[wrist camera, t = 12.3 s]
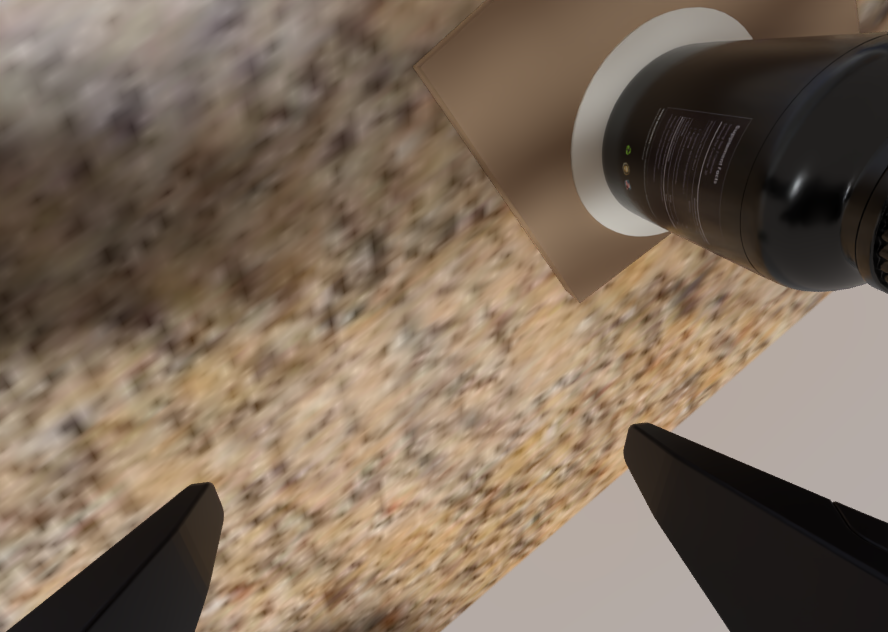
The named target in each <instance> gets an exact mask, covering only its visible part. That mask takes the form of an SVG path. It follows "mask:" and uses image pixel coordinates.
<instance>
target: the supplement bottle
mask: <svg viewBox="0 0 888 632" xmlns="http://www.w3.org/2000/svg"><path fill="white" fill-rule="evenodd" d="M602 166H603V172H604V176H605V180H606V183H607V185H608V187H609V189H610V191H611V193H612V194H613V196H614V197H615V199H616V200H617V201H618V202H619V203H620V204H621V205H622V206H623V207H624V208H626V209H627V210H629V211H630V212H632V213H634V214H636V215H638V216H640V217H641V218H643V219H645V220H647V221H649V222H651V223H653V224H655V225H657V226H659V227H661V228H663V229H666V230H668V231H670V232H672V233H674V234H676V235H678V236H680V237H682V238H684V239H686V240H688V241H690V242H692V243H694V244H696V245H698V246H701V247H703V248H705V249H707V250H709V251H711V252H713V253H715V254H717V255H719V256H721V257H723V258H725V259H727V260H729V261H731V262H733V263H735V264H738V265H740V266H742V267H744V268H746V269H748V270H750V271H752V272H754V273H756V274H758V275H760V276H762V277H764V278H766V279H769V280H771V281H774V282H776V283H778V284H780V285H783V286H785V287H788V288H791V289H796V290H801V291H812V292H825V291H837V290H842V289H849V288H853V287H856V286H860V285H863V284H866V283H868V284H869V285H871V286H872V287H874V288H876V289H879V290H881V291H883V292H885V293H887V294H888V32H874V33H857V34H839V35H822V36H804V37H787V38H770V39H752V40H735V41H717V42H705V43H695V44H689V45H684V46H681V47H677V48H675V49H672V50H670V51H668V52H666V53H664V54H662V55H660V56H658V57H657V58H655V59H654V60H652V61H651V62H650V63H648V64H647V65H646V66H645V67H643V68H642V69H641V70H640V71H639V72H638V73H637V74H636V75H635V76H634V77H633V79H632V80H631V81H630V82H629V83H628V85H627V86H626V87H625V89H624V90H623V91H622V93H621V94H620V96H619V98H618V99H617V101H616V103H615V105H614V107H613V109H612V111H611V113H610V116H609V119H608V121H607V125H606V128H605V132H604V137H603V143H602Z"/></svg>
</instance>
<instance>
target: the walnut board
mask: <svg viewBox="0 0 888 632" xmlns="http://www.w3.org/2000/svg"><path fill="white" fill-rule="evenodd" d="M857 33H860V28H859V20H858V11H857V3H856V0H486V1H485V2H484V3H483V4H481V5H480V6H479V7H478V8H477V9H476V10H475V11H474V12H473V13H471V14H470V15H469V16H468V17H467V18H466V19H465V20H464V21H463V22H461V23H460V24H459V25H458V26H457V27H456V28H455V29H454V30H453V31H452V32H450V33H449V34H448V35H447V36H446V37H445V38H444V39H443V40H442V41H440V42H439V43H438V44H437V45H436V46H435V47H434V48H433V49H432V50H430V51H429V52H428V53H427V54H426V55H425V56H424V57H423V58H422V59H421V60H419V61H418V62H417V63H416V64H415V65H414V66H413V68H414V69H415V71H416V72H417V74H418V75H419V77H420V78H421V80H422V81H423V83H424V84H425V85H426V87H427V88H428V90H429V91H430V93H431V94H432V96H433V97H434V99H435V100H436V101H437V103H438V104H439V106H440V107H441V109H442V110H443V112H444V113H445V115H446V116H447V118H448V119H449V120H450V122H451V123H452V125H453V126H454V128H455V129H456V131H457V132H458V134H459V135H460V136H461V138H462V139H463V141H464V142H465V144H466V145H467V147H468V148H469V150H470V151H471V153H472V154H473V155H474V157H475V158H476V160H477V161H478V163H479V164H480V166H481V167H482V169H483V170H484V171H485V173H486V174H487V176H488V177H489V179H490V180H491V182H492V183H493V185H494V186H495V188H496V189H497V190H498V192H499V193H500V195H501V196H502V198H503V199H504V201H505V202H506V204H507V205H508V206H509V208H510V209H511V211H512V212H513V214H514V215H515V217H516V218H517V220H518V221H519V222H520V224H521V225H522V227H523V228H524V230H525V231H526V233H527V234H528V236H529V237H530V239H531V240H532V241H533V243H534V244H535V246H536V247H537V249H538V250H539V252H540V253H541V255H542V256H543V257H544V259H545V260H546V262H547V263H548V265H549V266H550V268H551V269H552V271H553V272H554V274H555V275H556V276H557V278H558V279H559V281H560V282H561V284H562V285H563V287H564V288H565V290H566V291H567V292H568V293H570V294H571V295H572V296H573V297H574V298H575V299H576V300H577V301H578V302H579V303H581V302H582V301H583V300H585V299H586V298H587V297H589V296H590V295H591V294H592V293H594V292H595V291H596V290H598V289H599V288H600V287H602V286H603V285H604V284H606V283H607V282H608V281H609V280H611V279H612V278H613V277H615V276H616V275H617V274H619V273H620V272H621V271H622V270H624V269H625V268H626V267H628V266H629V265H630V264H632V263H633V262H634V261H635V260H637V259H638V258H639V257H641V256H642V255H643V254H645V253H646V252H647V251H648V250H650V249H651V248H652V247H654V246H655V245H656V244H658V243H659V242H660V241H661V240H663V239H664V238H665V237H667V236H668V235H669V234H671V233H672V232H670V231H668V230H666V229H663V228H661V227H659V226H657V225H655V224H653V223H651V222H649V221H647V220H645V219H643V218H641V217H640V216H638V215H636V214H634V213H632V212H630V211H629V210H627V209H626V208H624V207H623V206H622V205H621V204H620V203H619V202H618V201H617V200H616V199H615V197H614V196H613V194H612V193H611V191H610V189H609V187H608V185H607V183H606V180H605V176H604V172H603V166H602V143H603V137H604V132H605V128H606V125H607V121H608V119H609V116H610V113H611V111H612V109H613V107H614V105H615V103H616V101H617V99H618V98H619V96H620V94H621V93H622V91H623V90H624V89H625V87H626V86H627V85H628V83H629V82H630V81H631V80H632V79H633V77H634V76H635V75H636V74H637V73H638V72H639V71H640V70H641V69H642V68H643V67H645V66H646V65H647V64H648V63H650V62H651V61H652V60H654V59H655V58H657V57H658V56H660V55H662V54H664V53H666V52H668V51H670V50H672V49H675V48H677V47H681V46H684V45H689V44H695V43H705V42H717V41H735V40H752V39H770V38H787V37H804V36H822V35H839V34H857Z"/></svg>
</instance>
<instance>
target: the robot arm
mask: <svg viewBox="0 0 888 632" xmlns="http://www.w3.org/2000/svg"><path fill="white" fill-rule="evenodd" d="M624 459H625V462H626V464H627V466H628V468H629V470H630V472H631V474H632V476H633V477H634V480H635V482H636V483H637V485H638V487H639V489H640V491H641V493H642V495H643V497H644V499H645V500H646V503H647V505H648V506H649V508H650V510H651V512H652V514H653V515H654V517H655V519H656V520H657V522H658V524H659V525H660V527H661V528H662V530H663V531H664V533H665V534H666V536H667V537H668V539H669V540H670V542H671V543H672V545H673V546H674V548H675V549H676V551H677V552H678V554H679V555H680V557H681V558H682V560H683V561H684V563H685V564H686V566H687V567H688V569H689V570H690V572H691V573H692V575H693V576H694V578H695V580H696V581H697V583H698V584H699V585H700V587H701V589H702V590H703V591H704V593H705V595H706V596H707V597H708V599H709V601H710V602H711V603H712V605H713V607H714V608H715V609H716V611H717V613H718V614H719V616H720V617H721V619H722V620H723V622H724V623H725V625H726V626H727V628H728V629H729V631H730V632H888V523H886V522H884V521H881V520H879V519H876V518H874V517H872V516H869V515H867V514H864V513H862V512H860V511H857V510H855V509H852V508H850V507H848V506H845V505H843V504H841V503H838V502H833V503H832V502H831V500H830V499H827V498H825V497H823V496H820V495H818V494H816V493H813V492H811V491H809V490H806V489H804V488H801V487H799V486H797V485H794V484H792V483H790V482H787V481H785V480H783V479H780V478H778V477H775V476H773V475H771V474H768V473H766V472H764V471H761V470H759V469H756V468H754V467H752V466H749V465H747V464H745V463H742V462H740V461H737V460H735V459H733V458H730V457H728V456H726V455H724V454H721V453H719V452H716V451H714V450H712V449H709V448H707V447H704V446H702V445H700V444H698V443H695V442H693V441H690V440H688V439H686V438H683V437H681V436H679V435H676V434H674V433H672V432H669V431H667V430H665V429H662V428H660V427H657V426H655V425H653V424H650V423H638V424H633V425H631V426H630V427H629V429H628V433H627V437H626V442H625V446H624ZM223 520H224V511H223V507H222V504H221V502H220V499H219V497H218V494H217V492H216V489H215V487H214V485H213V484H212V483H210V482H204V483H197V484H191V485H189V486H188V487H186V488H185V489H184V490H183V491H181V492H180V493H179V494H178V495H176V496H175V497H174V498H173V499H171V500H170V501H169V502H168V503H166V504H165V505H164V506H163V507H161V508H160V509H159V510H158V511H156V512H155V513H154V514H153V515H151V516H150V517H149V518H148V519H146V520H145V521H144V522H143V523H141V524H140V525H139V526H138V527H136V528H135V529H134V530H133V531H131V532H130V533H129V534H128V535H126V536H125V537H124V538H123V539H121V540H120V541H119V542H118V543H116V544H115V545H114V546H113V547H111V548H110V549H109V550H108V551H106V552H105V553H104V554H103V555H101V556H100V557H99V558H98V559H96V560H95V561H94V562H93V563H91V564H90V565H89V566H88V567H86V568H85V569H84V570H83V571H81V572H80V573H79V574H78V575H76V576H75V577H74V578H73V579H71V580H70V581H69V582H68V583H66V584H65V585H64V586H63V587H61V588H60V589H59V590H58V591H56V592H55V593H54V594H53V595H51V596H50V597H49V598H48V599H46V600H45V601H44V602H43V603H41V604H40V605H39V606H38V607H36V608H35V609H34V610H33V611H31V612H30V613H29V614H28V615H26V616H25V617H24V618H23V619H21V620H20V621H19V622H18V623H16V624H15V625H14V626H13V627H11V628H10V629H9V630H8V631H6V632H195V629H196V626H197V623H198V620H199V617H200V614H201V611H202V608H203V605H204V602H205V599H206V596H207V593H208V589H209V585H210V581H211V577H212V572H213V567H214V563H215V558H216V553H217V549H218V544H219V539H220V535H221V530H222V526H223Z"/></svg>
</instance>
